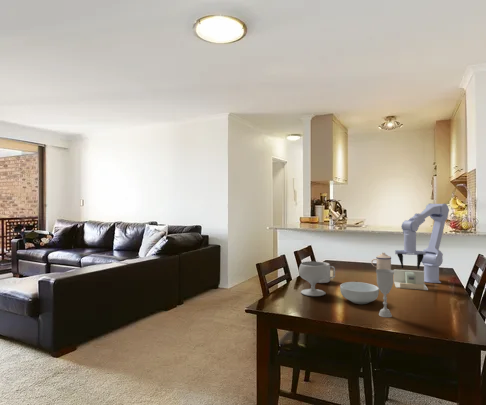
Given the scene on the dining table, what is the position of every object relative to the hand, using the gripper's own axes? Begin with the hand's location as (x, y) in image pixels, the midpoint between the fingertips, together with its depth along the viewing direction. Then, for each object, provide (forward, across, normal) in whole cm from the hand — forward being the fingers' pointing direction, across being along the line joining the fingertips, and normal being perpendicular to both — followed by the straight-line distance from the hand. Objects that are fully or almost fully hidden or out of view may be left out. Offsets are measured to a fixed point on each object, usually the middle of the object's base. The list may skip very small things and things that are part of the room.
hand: (410, 268), depth 182 cm
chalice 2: (+10, -16, -53) cm, 56 cm away
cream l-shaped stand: (+9, 0, -1) cm, 9 cm away
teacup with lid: (+10, -13, +35) cm, 39 cm away
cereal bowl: (+10, -26, -37) cm, 46 cm away
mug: (+10, -46, -3) cm, 47 cm away
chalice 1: (+10, -48, -30) cm, 57 cm away
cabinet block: (+9, 0, 0) cm, 9 cm away
